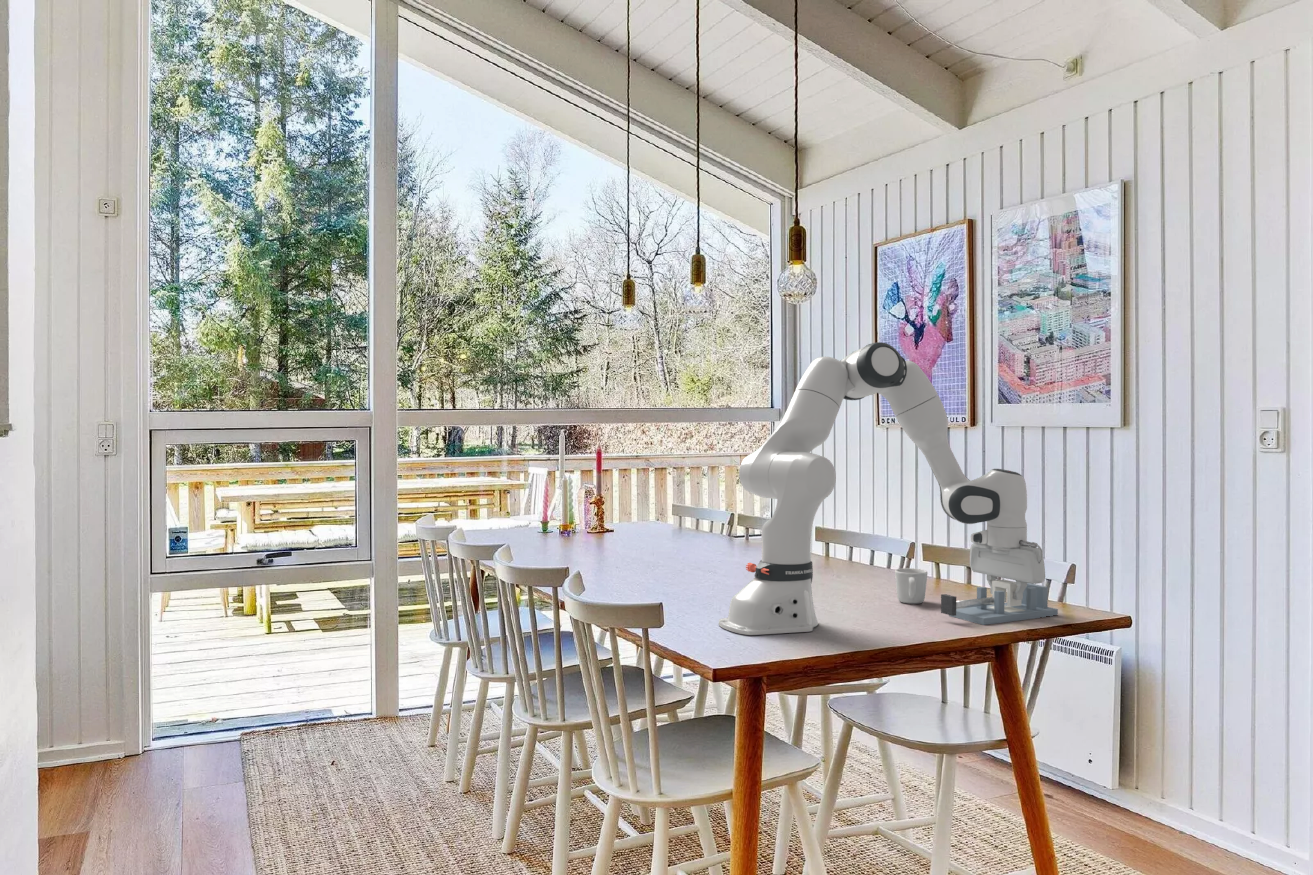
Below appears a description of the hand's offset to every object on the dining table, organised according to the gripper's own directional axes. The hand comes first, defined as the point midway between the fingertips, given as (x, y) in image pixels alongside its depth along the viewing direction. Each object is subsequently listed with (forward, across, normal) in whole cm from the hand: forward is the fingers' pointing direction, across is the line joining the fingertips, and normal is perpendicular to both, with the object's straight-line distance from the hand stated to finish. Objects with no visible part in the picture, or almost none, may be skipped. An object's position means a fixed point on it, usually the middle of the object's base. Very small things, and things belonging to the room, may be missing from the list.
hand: (1006, 596), depth 222 cm
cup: (+5, +21, +10) cm, 24 cm away
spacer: (+2, 0, 0) cm, 2 cm away
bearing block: (+4, 0, 0) cm, 4 cm away
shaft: (+2, 0, +11) cm, 12 cm away
